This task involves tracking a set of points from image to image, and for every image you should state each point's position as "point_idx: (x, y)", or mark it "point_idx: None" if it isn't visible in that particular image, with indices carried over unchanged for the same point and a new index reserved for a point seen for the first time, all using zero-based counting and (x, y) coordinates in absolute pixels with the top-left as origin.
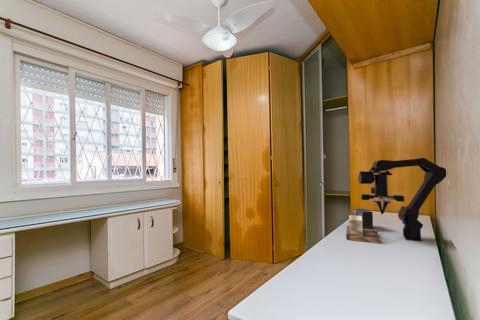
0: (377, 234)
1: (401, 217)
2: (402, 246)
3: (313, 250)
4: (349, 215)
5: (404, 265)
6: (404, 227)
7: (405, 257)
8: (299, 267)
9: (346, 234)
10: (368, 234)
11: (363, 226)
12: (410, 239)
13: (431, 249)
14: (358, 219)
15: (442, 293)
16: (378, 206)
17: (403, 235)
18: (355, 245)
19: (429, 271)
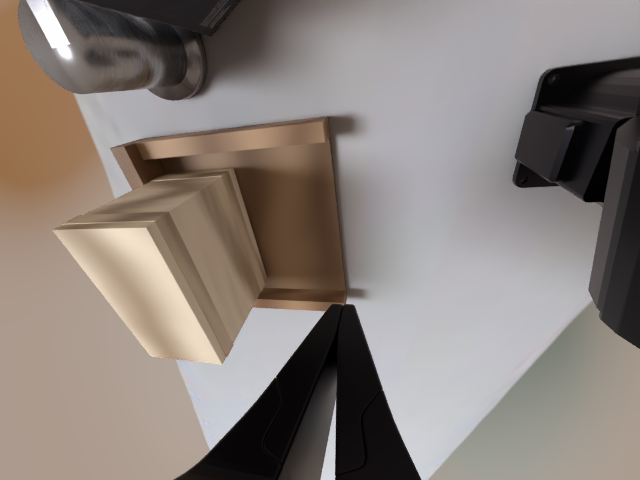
0: (327, 158)
1: (613, 265)
2: (437, 303)
3: (187, 381)
4: (64, 243)
5: (396, 417)
6: (582, 150)
7: (413, 384)
8: (215, 432)
9: None
10: (275, 184)
11: (194, 29)
12: (543, 184)
13: (575, 306)
14: (191, 345)
15: (431, 472)
16: (268, 402)
17: (522, 138)
18: (262, 334)
19: (446, 432)
